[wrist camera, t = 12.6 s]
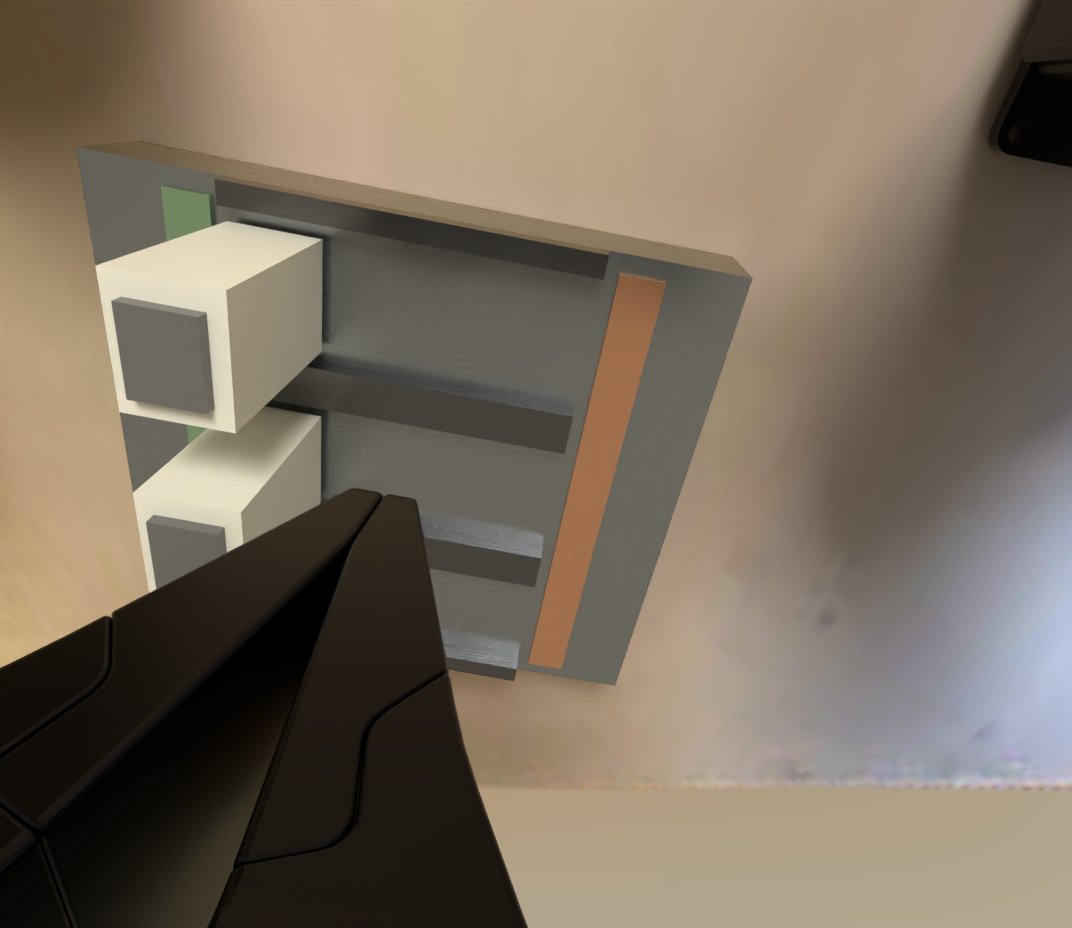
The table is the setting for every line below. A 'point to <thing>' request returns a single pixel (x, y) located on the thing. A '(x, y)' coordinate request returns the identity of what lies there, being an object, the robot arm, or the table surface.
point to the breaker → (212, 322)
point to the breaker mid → (228, 491)
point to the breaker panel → (472, 387)
